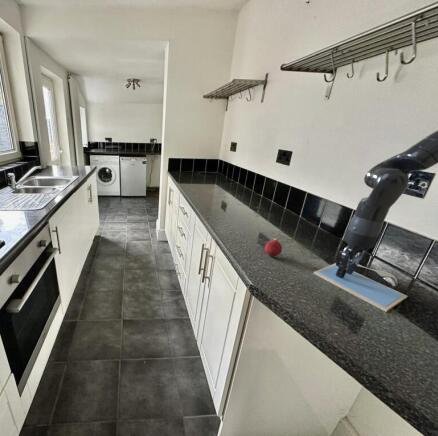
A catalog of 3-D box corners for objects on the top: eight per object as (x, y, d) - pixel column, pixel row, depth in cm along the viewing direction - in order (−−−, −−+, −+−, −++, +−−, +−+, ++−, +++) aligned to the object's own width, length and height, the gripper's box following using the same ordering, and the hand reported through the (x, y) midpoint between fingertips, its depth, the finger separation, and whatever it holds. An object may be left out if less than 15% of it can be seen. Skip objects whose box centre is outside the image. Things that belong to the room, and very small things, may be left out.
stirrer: (337, 247, 93) (347, 246, 94) (334, 254, 94) (343, 253, 95) (393, 280, 75) (404, 279, 76) (387, 288, 77) (399, 287, 77)
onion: (274, 262, 88) (279, 243, 85) (260, 255, 92) (264, 237, 89) (281, 257, 91) (287, 239, 88) (267, 251, 95) (272, 234, 92)
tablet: (334, 264, 88) (335, 262, 87) (406, 298, 71) (408, 295, 71) (313, 273, 82) (314, 271, 82) (386, 312, 65) (387, 309, 65)
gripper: (366, 239, 67) (345, 287, 73) (388, 231, 73) (367, 276, 79) (337, 229, 73) (320, 274, 79) (360, 222, 79) (342, 264, 86)
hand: (343, 274), depth 79 cm, fingers open, 5 cm apart
